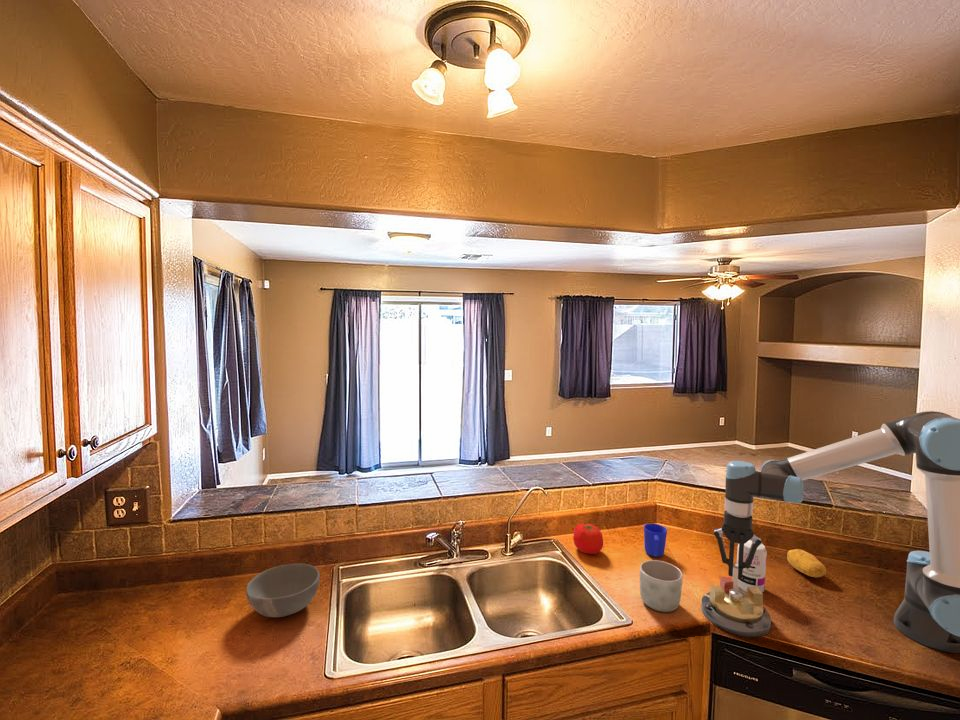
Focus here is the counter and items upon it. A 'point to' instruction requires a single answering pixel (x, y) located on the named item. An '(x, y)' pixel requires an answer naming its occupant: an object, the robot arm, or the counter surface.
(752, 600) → the brass disc with cubes
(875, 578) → the counter surface
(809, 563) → the potato
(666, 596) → the planter
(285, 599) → the bowl
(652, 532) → the mug
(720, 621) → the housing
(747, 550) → the supplement can
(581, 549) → the tomato
